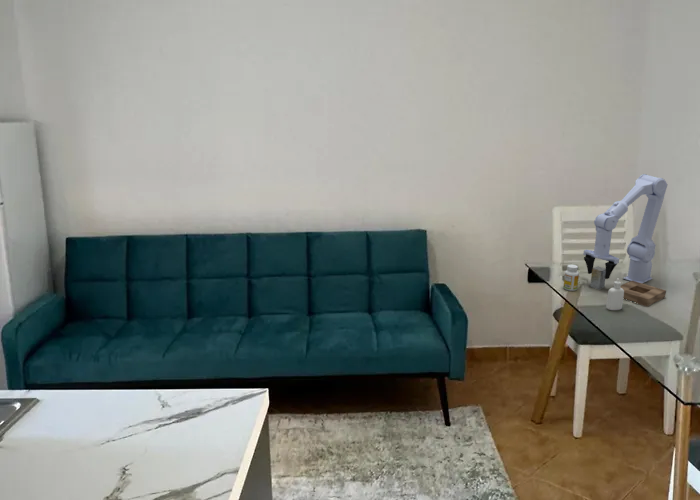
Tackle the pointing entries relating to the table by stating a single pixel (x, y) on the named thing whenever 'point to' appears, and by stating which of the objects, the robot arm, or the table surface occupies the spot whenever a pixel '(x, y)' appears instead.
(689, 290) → the table surface
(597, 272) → the peg
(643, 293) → the socket block
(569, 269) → the supplement bottle
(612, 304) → the eye dropper bottle
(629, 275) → the robot arm
